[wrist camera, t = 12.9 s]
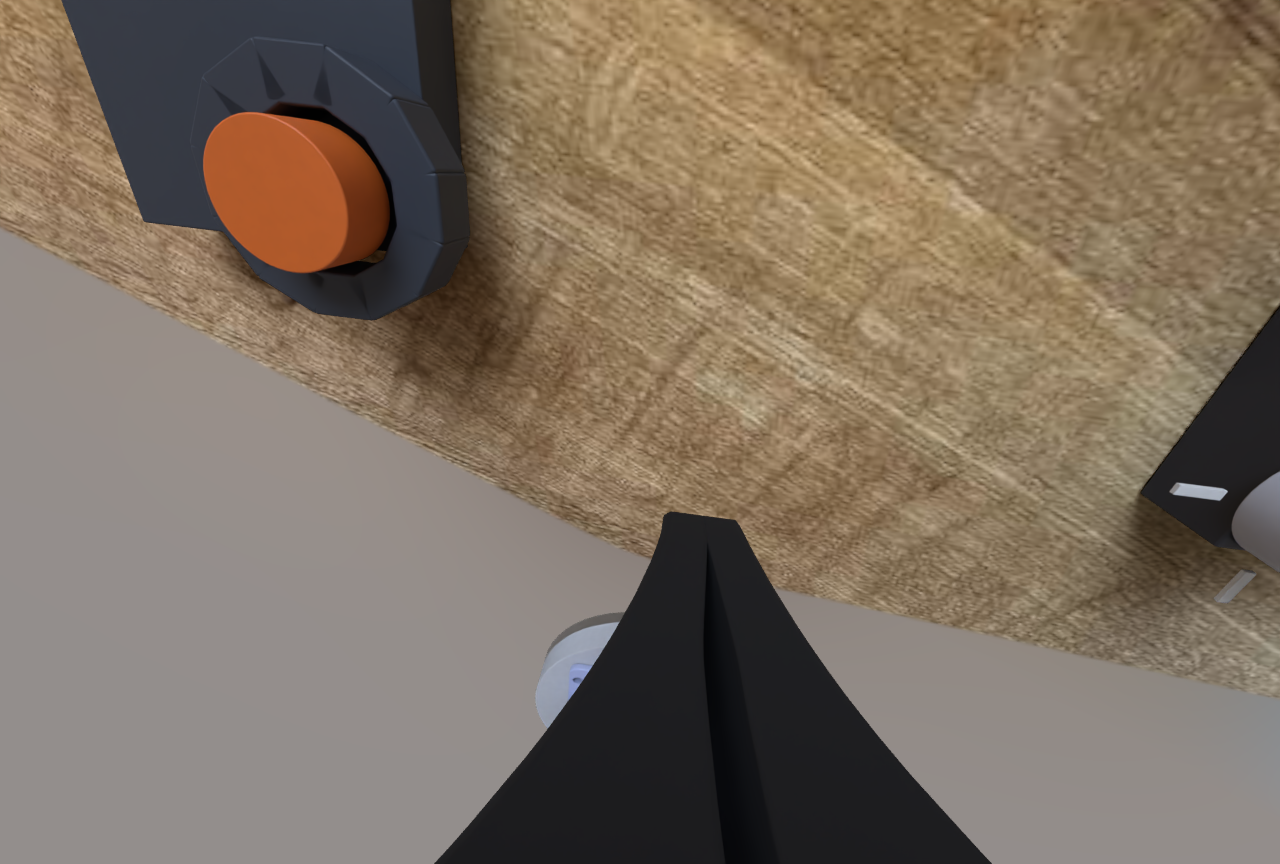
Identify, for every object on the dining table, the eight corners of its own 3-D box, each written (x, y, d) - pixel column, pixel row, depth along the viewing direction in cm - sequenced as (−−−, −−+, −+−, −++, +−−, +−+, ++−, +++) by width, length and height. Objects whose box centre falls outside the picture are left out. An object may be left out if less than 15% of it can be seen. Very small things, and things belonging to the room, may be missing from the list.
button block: (501, 297, 17) (451, 331, 13) (222, 264, 17) (101, 287, 13) (480, -203, 11) (385, -377, 8) (65, -241, 11) (-213, -427, 8)
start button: (399, 268, 13) (359, 281, 11) (283, 254, 13) (228, 265, 11) (380, 127, 11) (331, 120, 10) (248, 113, 11) (179, 103, 10)
